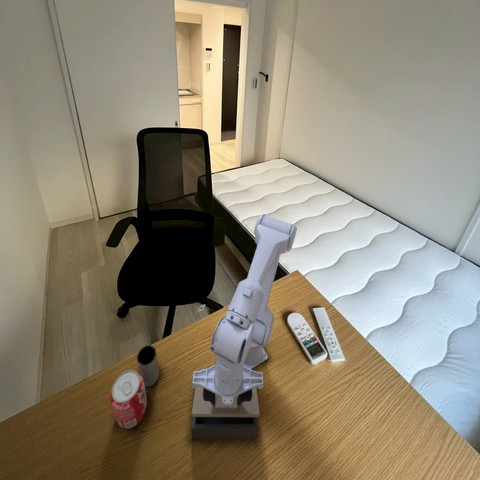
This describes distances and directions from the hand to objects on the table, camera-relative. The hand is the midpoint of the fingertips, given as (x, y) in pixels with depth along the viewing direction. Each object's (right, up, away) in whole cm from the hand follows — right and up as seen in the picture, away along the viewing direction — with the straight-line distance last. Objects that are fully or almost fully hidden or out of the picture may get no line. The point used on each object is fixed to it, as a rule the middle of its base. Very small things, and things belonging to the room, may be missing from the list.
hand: (226, 399), depth 54 cm
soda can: (-23, -8, +5) cm, 25 cm away
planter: (-21, -5, +11) cm, 24 cm away
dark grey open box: (-1, -8, +6) cm, 10 cm away
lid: (0, -2, +3) cm, 3 cm away
